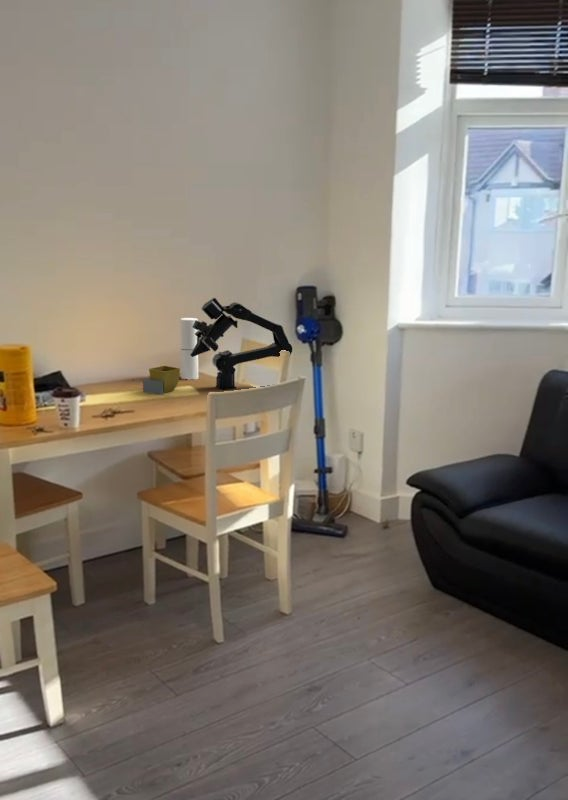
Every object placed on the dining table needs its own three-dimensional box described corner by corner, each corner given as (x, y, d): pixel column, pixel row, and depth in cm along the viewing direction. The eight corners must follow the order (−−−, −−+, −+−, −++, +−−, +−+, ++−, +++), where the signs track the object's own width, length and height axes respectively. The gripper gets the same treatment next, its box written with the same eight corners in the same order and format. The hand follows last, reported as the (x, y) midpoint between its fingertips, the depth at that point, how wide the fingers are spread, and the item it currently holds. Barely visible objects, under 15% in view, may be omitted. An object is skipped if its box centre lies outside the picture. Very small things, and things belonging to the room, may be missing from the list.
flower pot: (181, 390, 302) (180, 368, 300) (165, 394, 295) (164, 371, 293) (165, 387, 307) (164, 365, 305) (148, 391, 301) (148, 368, 298)
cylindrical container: (179, 379, 323) (178, 319, 317) (184, 375, 330) (183, 317, 324) (195, 380, 322) (195, 320, 316) (200, 376, 329) (199, 318, 323)
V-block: (158, 387, 307) (158, 375, 305) (163, 394, 295) (163, 381, 294) (141, 388, 304) (140, 376, 303) (145, 395, 293) (145, 382, 292)
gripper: (200, 310, 308) (172, 338, 307) (210, 316, 291) (181, 345, 290) (219, 329, 312) (191, 357, 311) (230, 336, 295) (201, 365, 294)
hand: (191, 356), depth 301 cm, fingers closed
